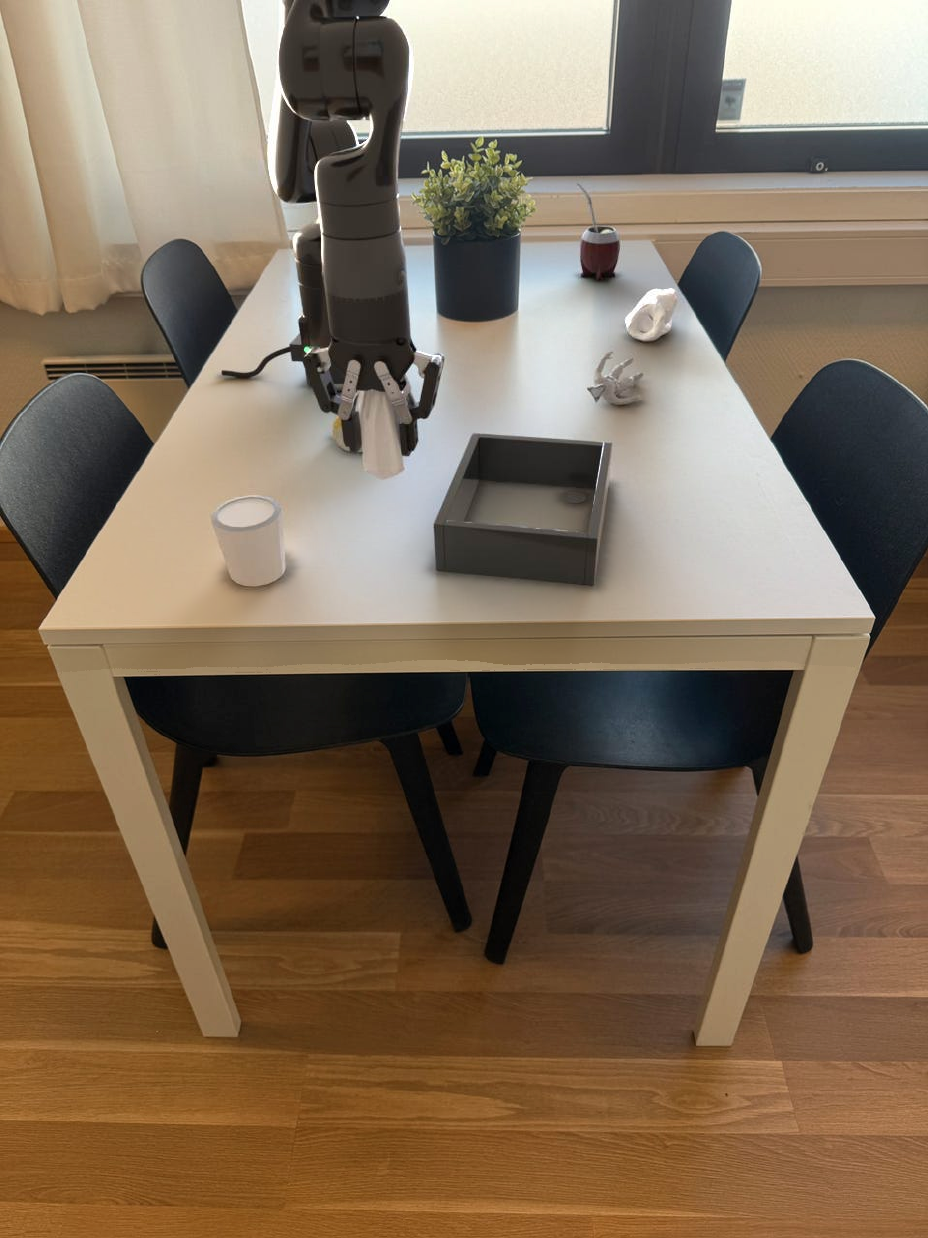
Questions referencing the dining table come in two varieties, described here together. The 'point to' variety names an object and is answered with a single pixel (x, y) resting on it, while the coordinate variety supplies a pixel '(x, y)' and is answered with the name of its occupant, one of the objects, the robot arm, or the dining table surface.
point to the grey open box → (524, 546)
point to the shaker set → (380, 434)
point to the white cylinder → (251, 539)
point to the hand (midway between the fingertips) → (381, 450)
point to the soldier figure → (613, 383)
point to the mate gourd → (598, 248)
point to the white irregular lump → (652, 315)
